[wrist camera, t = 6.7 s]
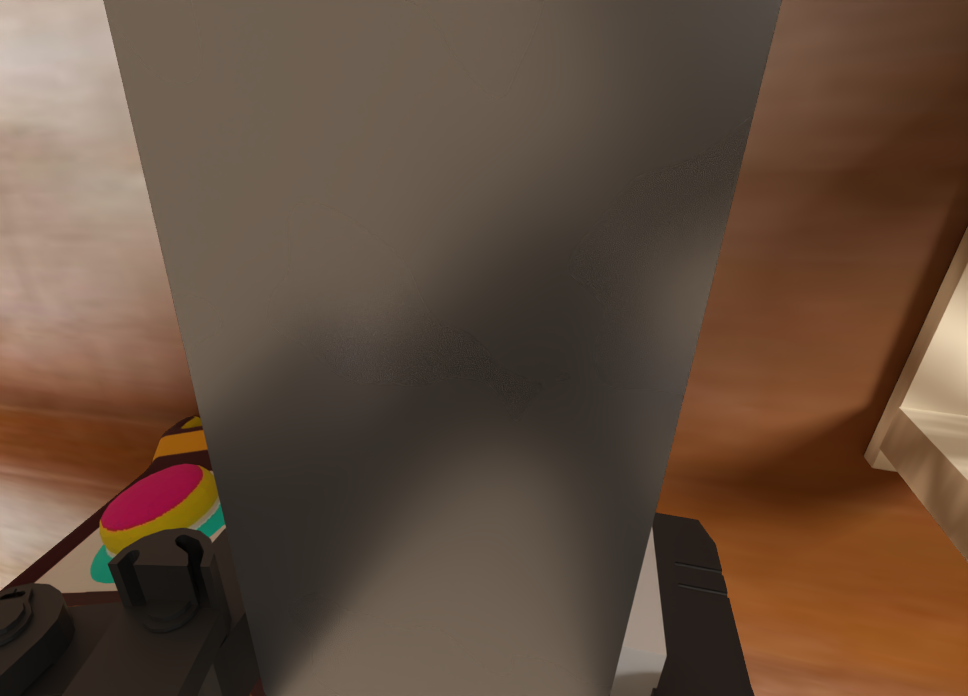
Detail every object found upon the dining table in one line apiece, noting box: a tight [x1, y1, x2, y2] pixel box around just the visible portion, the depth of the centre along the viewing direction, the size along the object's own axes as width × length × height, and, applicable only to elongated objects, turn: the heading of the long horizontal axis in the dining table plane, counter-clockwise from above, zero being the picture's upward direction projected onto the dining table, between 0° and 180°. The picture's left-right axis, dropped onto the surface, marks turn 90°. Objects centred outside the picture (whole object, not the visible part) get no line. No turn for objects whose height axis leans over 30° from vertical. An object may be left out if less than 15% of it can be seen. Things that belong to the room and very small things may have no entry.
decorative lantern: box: [0, 416, 265, 696], centre depth 32 cm, size 20×20×30 cm
